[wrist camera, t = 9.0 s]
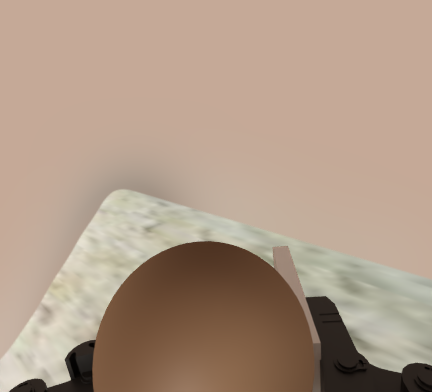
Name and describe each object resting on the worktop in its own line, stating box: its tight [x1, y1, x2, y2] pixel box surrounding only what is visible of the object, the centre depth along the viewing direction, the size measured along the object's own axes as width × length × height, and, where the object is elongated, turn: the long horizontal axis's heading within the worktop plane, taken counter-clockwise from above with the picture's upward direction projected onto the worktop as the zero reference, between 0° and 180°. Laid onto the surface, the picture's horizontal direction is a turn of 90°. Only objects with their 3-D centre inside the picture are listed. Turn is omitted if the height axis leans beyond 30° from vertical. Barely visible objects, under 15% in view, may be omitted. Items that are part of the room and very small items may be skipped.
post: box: [92, 241, 315, 392], centre depth 12 cm, size 5×5×12 cm
